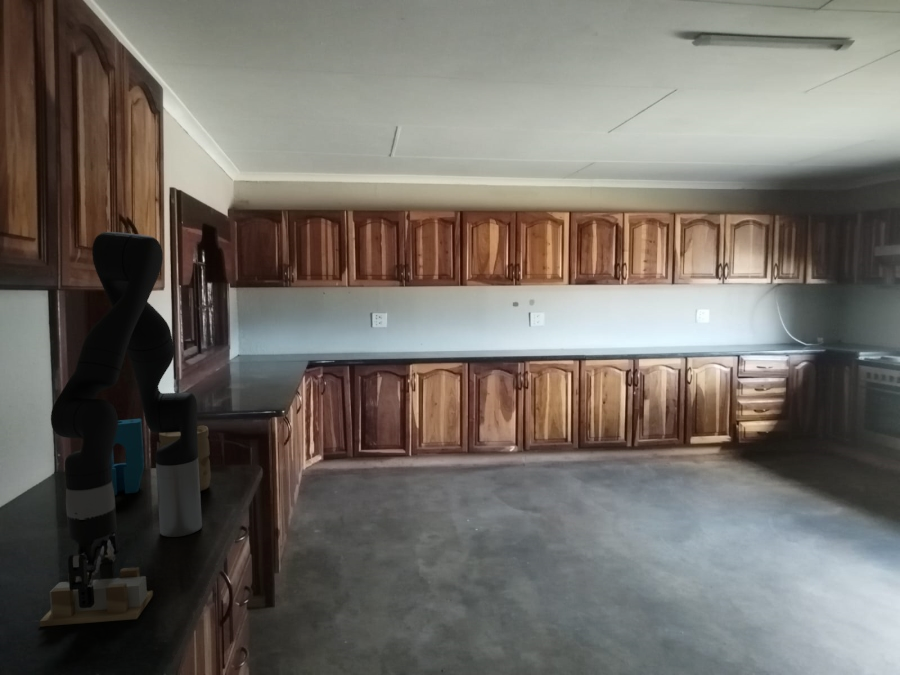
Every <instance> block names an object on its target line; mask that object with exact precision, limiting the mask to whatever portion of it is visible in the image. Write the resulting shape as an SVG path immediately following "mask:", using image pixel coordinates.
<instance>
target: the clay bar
mask: <svg viewBox="0 0 900 675" xmlns="http://www.w3.org/2000/svg"><path fill="white" fill-rule="evenodd" d="M122 583H126V584H127V599H128V608H130V607H140V606H141V605H142V603H143V602H144V600H145V599H146V598H147V591H148V590H147V588H148V587H147V577H146V576H145V575H144V576H143V575H142V576H140V577H128V578H120V577H116V578H114V579H101V578H100V579H94V580H93V590H94V605H93V606H92V607H90V608H80V606H79V596H78V590H73V598H74V610H75V612H78V611H91V610H104V609H107V599H106V587H107V586H108V585H109V584H122ZM65 587H69V582H68V581H60V582H58V583H57V584H56V585H55V586H54V587H53V588H52V589H51V590H50V591H49V593H48V594H49V601H50V610H51V614H52V613H53V610H52V599H51V591H52V590H53V589H54V588H65Z"/></svg>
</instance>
